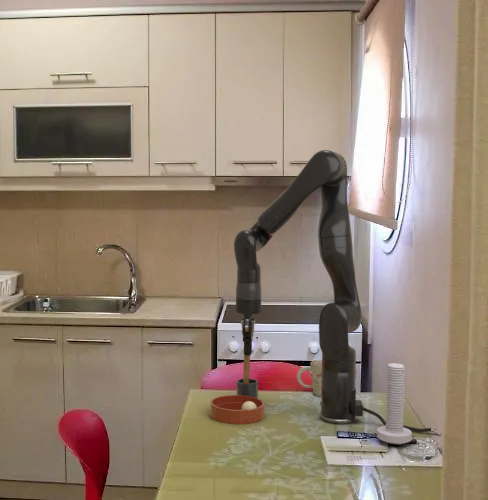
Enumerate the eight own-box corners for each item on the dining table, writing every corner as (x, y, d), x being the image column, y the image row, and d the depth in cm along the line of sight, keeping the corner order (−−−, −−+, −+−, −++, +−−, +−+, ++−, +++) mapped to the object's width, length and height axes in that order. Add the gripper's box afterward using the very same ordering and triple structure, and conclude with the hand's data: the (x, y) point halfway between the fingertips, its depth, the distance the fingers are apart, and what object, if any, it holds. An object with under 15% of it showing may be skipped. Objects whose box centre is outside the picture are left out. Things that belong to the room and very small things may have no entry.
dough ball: (248, 395, 196) (254, 401, 191) (255, 406, 197) (262, 412, 193) (236, 405, 195) (242, 412, 191) (244, 416, 196) (250, 422, 192)
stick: (247, 396, 209) (250, 338, 208) (248, 398, 207) (251, 339, 206) (242, 396, 209) (244, 337, 207) (243, 398, 207) (245, 339, 206)
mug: (336, 398, 214) (337, 366, 214) (295, 396, 217) (296, 364, 216) (336, 391, 222) (337, 360, 222) (297, 389, 225) (297, 358, 224)
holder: (258, 401, 211) (258, 378, 210) (257, 407, 204) (257, 384, 204) (237, 400, 212) (237, 378, 211) (235, 406, 205) (235, 383, 205)
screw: (400, 435, 181) (402, 360, 179) (418, 447, 172) (420, 368, 171) (370, 438, 179) (372, 361, 177) (387, 449, 170) (389, 369, 169)
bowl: (265, 410, 202) (265, 396, 201) (262, 427, 187) (263, 412, 186) (213, 407, 204) (213, 393, 204) (207, 424, 189) (207, 409, 189)
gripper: (237, 293, 213) (237, 348, 214) (234, 299, 199) (233, 358, 201) (262, 293, 212) (261, 349, 213) (260, 300, 198) (259, 359, 200)
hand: (247, 353), depth 207 cm, fingers closed on stick, 2 cm apart
